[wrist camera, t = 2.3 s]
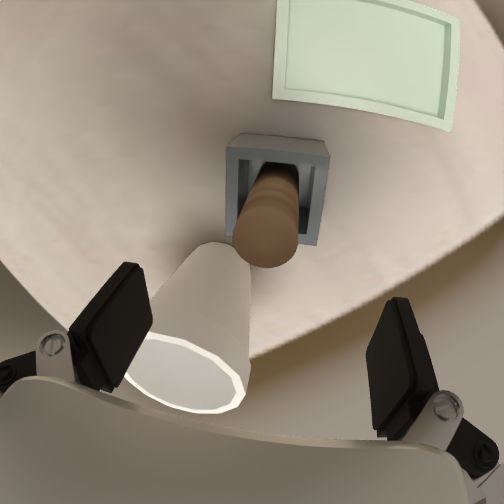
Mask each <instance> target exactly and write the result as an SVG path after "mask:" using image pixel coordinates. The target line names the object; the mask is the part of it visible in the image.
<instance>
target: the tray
mask: <svg viewBox="0 0 504 504" xmlns="http://www.w3.org/2000/svg"><path fill="white" fill-rule="evenodd" d="M459 52H460V19H459V18H456V17H454V16H452V15H449V14H447V13H444V12H442V11H439V10H436V9H434V8H431V7H428V6H425V5H422V4H420V3H417V2H413V1H410V0H277V16H276V36H275V55H274V73H273V91H272V99H279V100H290V101H300V102H309V103H318V104H325V105H332V106H339V107H345V108H351V109H357V110H363V111H368V112H373V113H378V114H383V115H388V116H392V117H397V118H401V119H405V120H409V121H413V122H417V123H421V124H425V125H428V126H432V127H435V128H439V129H442V130H445V131H449V132H451V127H452V121H453V114H454V107H455V100H456V91H457V81H458V69H459Z"/></svg>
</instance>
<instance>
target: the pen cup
mask: <svg viewBox="0 0 504 504" xmlns="http://www.w3.org/2000/svg"><path fill="white" fill-rule="evenodd" d="M329 160H330V155H329V152H328V150H327V148H326V145H325V143H324V141H319V140H311V139H302V138H293V137H283V136H272V135H259V134H243V133H241V134H240V135H238V136H237V137H236V138H235V139H234V140H233V141H232V142H231V143H229V144H228V145H227V146H226V236H232V233H233V229H234V227H235V224H236V222H237V220H238V217H239V215H240V213H241V211H242V208H243V206H244V204H245V202H246V199H247V197H248V195H249V192H250V190H251V188H252V186H253V183H254V181H255V179H256V177H257V175H258V172H259V170H260V168H261V166H262V165H263V164H264V163H265V162H266V161H267V162H278V163H288V164H294V165H295V166H296V168H297V170H298V172H299V223H298V244H304V245H313V246H316V245H317V240H318V234H319V228H320V222H321V215H322V209H323V203H324V196H325V189H326V182H327V175H328V167H329Z"/></svg>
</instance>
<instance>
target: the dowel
mask: <svg viewBox="0 0 504 504" xmlns="http://www.w3.org/2000/svg"><path fill="white" fill-rule="evenodd" d="M298 223H299V172H298V170H297V168H296V166H295V165H294V164H288V163H278V162H267V161H266V162H265V163H264V164H263V165H262V166H261V168H260V170H259V172H258V175H257V177H256V179H255V181H254V183H253V186H252V188H251V190H250V192H249V195H248V197H247V199H246V202H245V204H244V206H243V208H242V211H241V213H240V215H239V217H238V220H237V222H236V224H235V227H234V229H233V233H232V241H233V245H234V248H235V250H236V252H237V253H238V255H239V256H240V257H241V258H242V259H243V260H245V261H246V262H248V263H249V264H251V265H254V266H257V267H262V268H272V267H277V266H280V265H282V264H284V263H286V262H287V261H289V260H290V259H291V258H292V256H293V255H294V253H295V252H296V249H297V245H298Z"/></svg>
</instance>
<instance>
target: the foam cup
mask: <svg viewBox="0 0 504 504" xmlns="http://www.w3.org/2000/svg"><path fill="white" fill-rule="evenodd" d="M149 302H150V306H151V311H152V315H153V324H152V326H151V328H150V330H149V332H148V333H147V335H146V337H145V339H144V341H143V342H142V344H141V346H140V348H139V350H138V351H137V353H136V355H135V357H134V359H133V361H132V362H131V364H130V366H129V368H128V370H127V372H126V373H125V375H124V376H125V378H126V379H127V380H128V381H129V382H130V383H131V384H133V385H134V386H135V387H136V388H138V389H139V390H140V391H142V392H143V393H144V394H145V395H147V396H149V397H151V398H153V399H155V400H157V401H159V402H161V403H163V404H165V405H168V406H170V407H173V408H177V409H181V410H185V411H189V412H193V413H222V412H225V411H228V410H230V409H233V408H236V407H238V405H239V403H240V402H241V401H242V399H243V397H244V396H245V394H246V389H247V385H248V379H249V374H250V369H251V365H250V361H249V330H250V302H251V271H250V265H249V263H248V262H246V261H245V260H243V259H242V258H241V257H240V256H239V255H238V253H237V252H236V250H235V248H233V247H232V246H230V245H228V244H225V243H217V242H210V243H206V244H203V245H199V246H198V247H197V248H196V249H195V250H194V251H193V252H192V253H191V254H190V255H189V256H188V257H187V259H186V260H185V261H184V262H183V263H182V264H181V265H180V266H179V268H178V269H177V270H176V271H175V272H174V273H173V274H172V275H171V277H170V278H169V279H168V280H167V281H166V282H165V283H164V285H163V286H162V287H161V288H160V289H159V290H158V292H157V293H156V294H155V295H154V296H153V297H152V298H151V300H150V301H149Z"/></svg>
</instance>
